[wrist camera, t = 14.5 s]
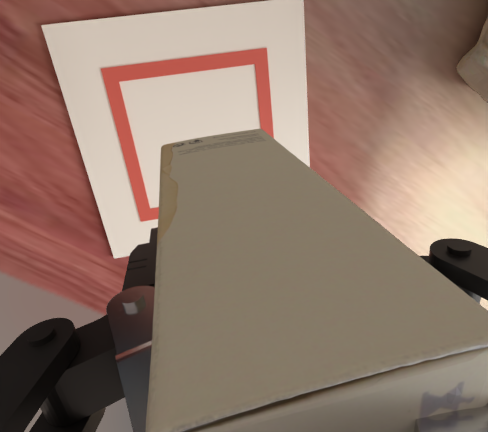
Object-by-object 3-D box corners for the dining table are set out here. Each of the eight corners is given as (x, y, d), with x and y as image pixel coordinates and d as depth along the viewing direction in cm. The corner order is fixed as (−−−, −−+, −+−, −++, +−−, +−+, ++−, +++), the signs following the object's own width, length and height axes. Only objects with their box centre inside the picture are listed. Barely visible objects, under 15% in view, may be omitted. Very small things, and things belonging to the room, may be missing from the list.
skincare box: (159, 142, 14) (109, 427, 3) (266, 125, 15) (542, 322, 4) (188, 273, 17) (216, 672, 6) (279, 255, 17) (460, 592, 6)
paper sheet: (301, -3, 26) (304, -4, 25) (310, 219, 33) (312, 221, 33) (43, 25, 24) (40, 25, 23) (114, 256, 31) (113, 259, 31)
